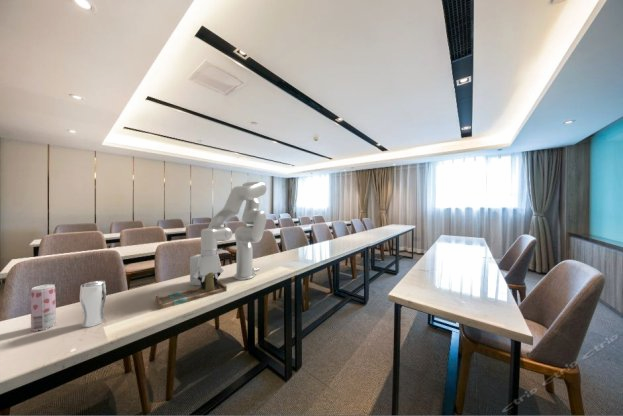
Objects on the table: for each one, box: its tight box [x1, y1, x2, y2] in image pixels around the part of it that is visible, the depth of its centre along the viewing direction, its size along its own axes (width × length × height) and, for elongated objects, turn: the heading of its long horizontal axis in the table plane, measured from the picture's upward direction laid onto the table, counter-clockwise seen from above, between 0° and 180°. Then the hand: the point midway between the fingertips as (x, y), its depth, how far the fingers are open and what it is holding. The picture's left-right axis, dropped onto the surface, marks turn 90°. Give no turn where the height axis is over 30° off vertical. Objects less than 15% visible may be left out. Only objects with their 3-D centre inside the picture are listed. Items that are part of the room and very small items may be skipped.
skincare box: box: [189, 254, 201, 286], centre depth 123 cm, size 8×7×16 cm
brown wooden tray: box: [154, 280, 227, 310], centre depth 106 cm, size 29×11×2 cm, turn 134°
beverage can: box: [30, 283, 57, 332], centre depth 78 cm, size 6×6×15 cm
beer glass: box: [79, 280, 107, 328], centre depth 81 cm, size 7×7×15 cm
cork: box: [202, 272, 216, 294], centre depth 111 cm, size 6×6×11 cm
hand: (209, 287), depth 111 cm, fingers open, 4 cm apart
